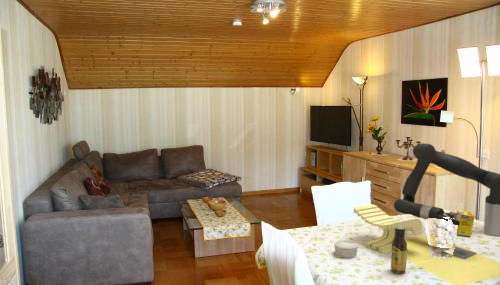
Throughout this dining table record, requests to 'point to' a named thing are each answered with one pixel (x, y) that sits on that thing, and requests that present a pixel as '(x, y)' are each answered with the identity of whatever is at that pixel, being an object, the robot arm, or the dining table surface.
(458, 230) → the supplement box
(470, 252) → the mat
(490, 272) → the dining table surface
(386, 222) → the slatted curved stool
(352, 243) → the ramekin
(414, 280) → the dining table surface
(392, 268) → the sauce bottle
